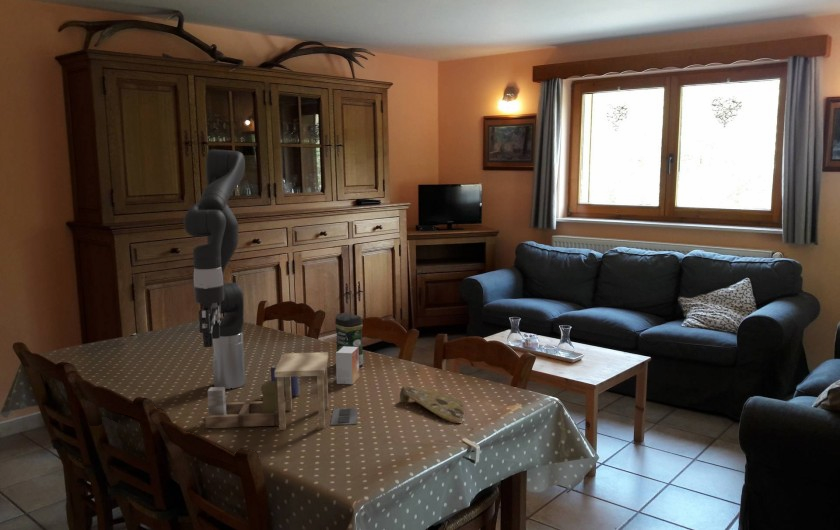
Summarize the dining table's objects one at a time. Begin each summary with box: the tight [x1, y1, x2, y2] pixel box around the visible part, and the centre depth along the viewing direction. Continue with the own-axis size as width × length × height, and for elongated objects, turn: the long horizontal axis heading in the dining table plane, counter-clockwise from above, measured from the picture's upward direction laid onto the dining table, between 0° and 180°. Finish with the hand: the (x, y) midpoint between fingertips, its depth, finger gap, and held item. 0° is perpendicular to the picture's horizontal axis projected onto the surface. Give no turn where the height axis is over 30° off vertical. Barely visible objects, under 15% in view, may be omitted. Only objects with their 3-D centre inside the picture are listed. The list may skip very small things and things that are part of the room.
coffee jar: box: [334, 312, 364, 368], centre depth 235 cm, size 10×8×19 cm
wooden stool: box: [274, 351, 358, 431], centre depth 186 cm, size 21×17×16 cm
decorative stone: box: [399, 385, 465, 424], centre depth 194 cm, size 25×15×5 cm, turn 36°
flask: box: [270, 363, 300, 398], centre depth 205 cm, size 9×3×11 cm, turn 74°
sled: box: [205, 386, 279, 429], centre depth 185 cm, size 20×11×9 cm, turn 94°
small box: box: [335, 346, 360, 385], centre depth 219 cm, size 8×6×10 cm
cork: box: [260, 380, 279, 413], centre depth 185 cm, size 6×6×11 cm
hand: (212, 342), depth 182 cm, fingers open, 8 cm apart
